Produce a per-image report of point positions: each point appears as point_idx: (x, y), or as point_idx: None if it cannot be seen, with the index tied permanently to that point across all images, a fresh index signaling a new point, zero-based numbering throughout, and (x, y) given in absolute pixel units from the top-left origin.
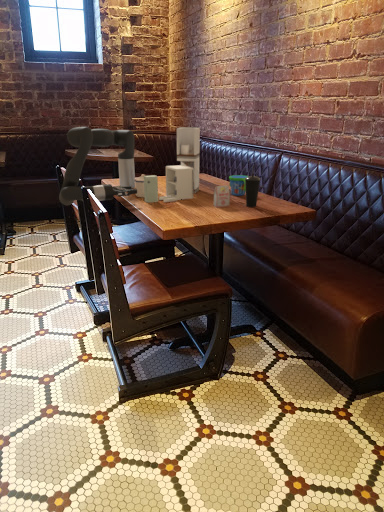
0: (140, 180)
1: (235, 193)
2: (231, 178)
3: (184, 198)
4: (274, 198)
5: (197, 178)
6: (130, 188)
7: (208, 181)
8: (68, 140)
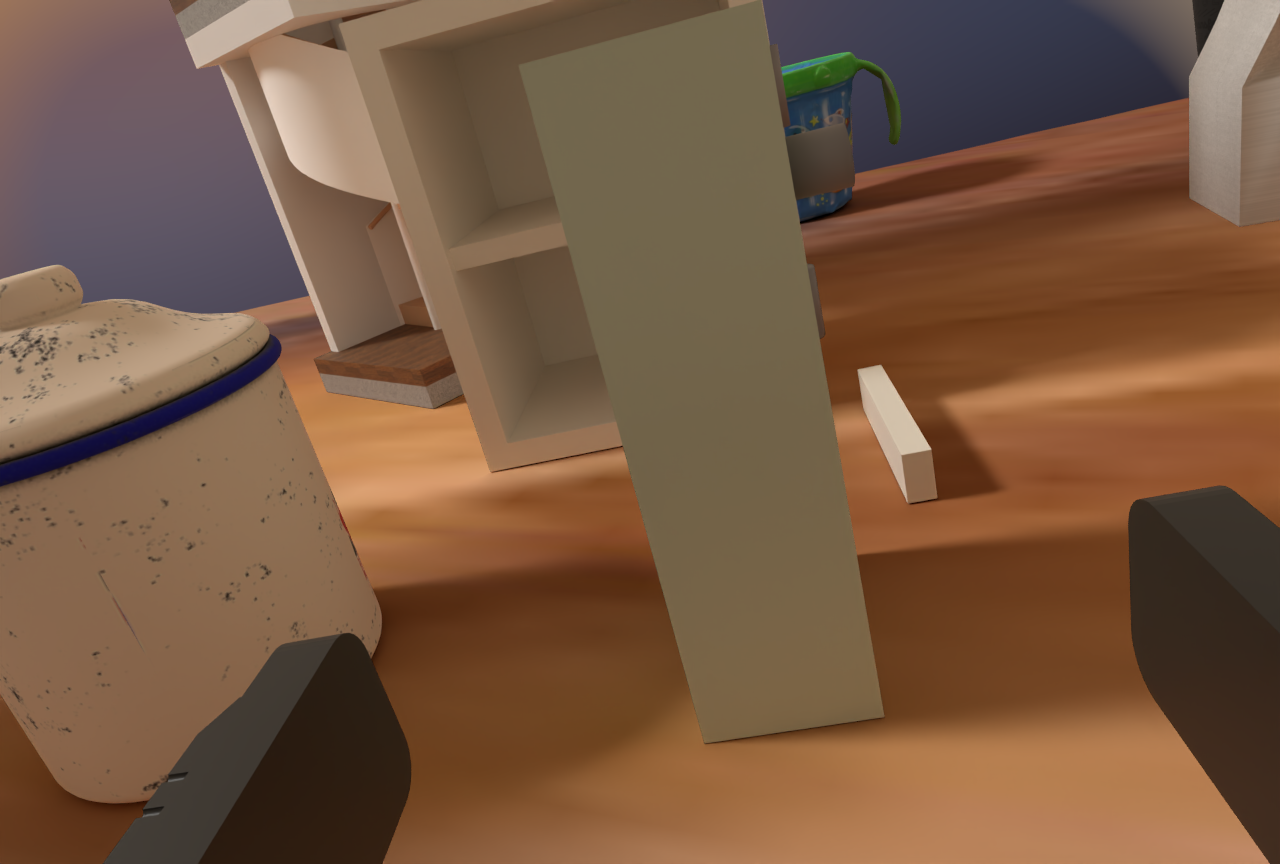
0: (121, 394)
1: (832, 195)
2: (792, 80)
3: None
4: (986, 144)
5: None
6: (375, 723)
7: (294, 317)
8: None
